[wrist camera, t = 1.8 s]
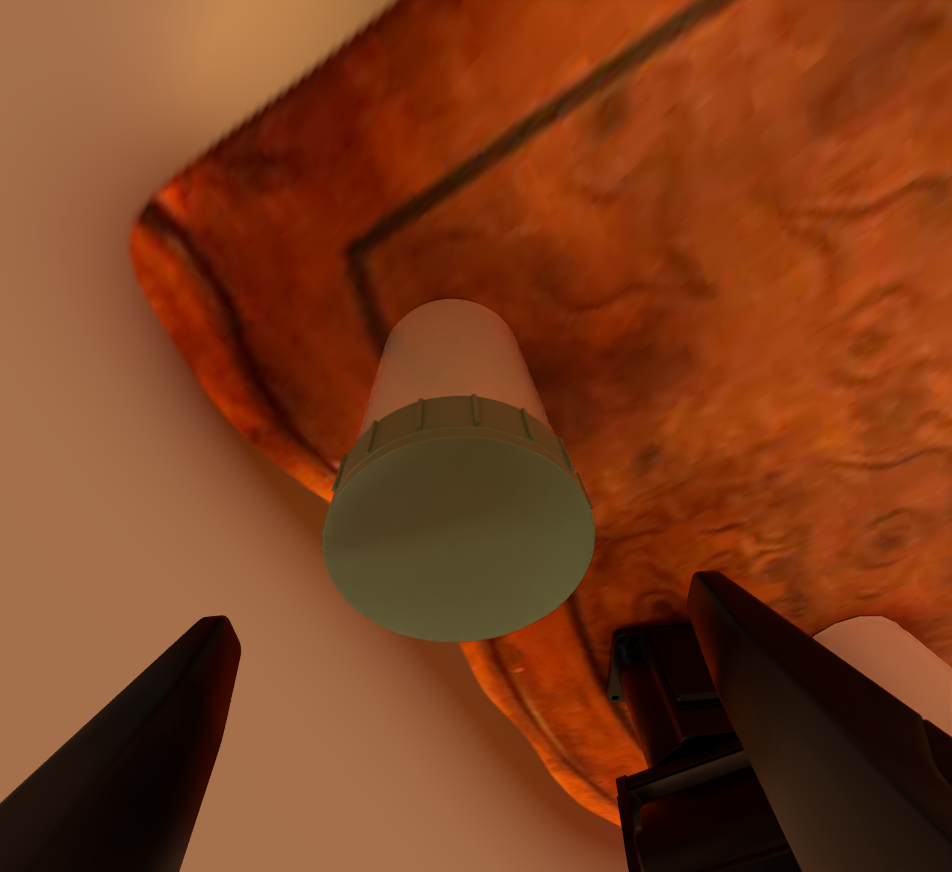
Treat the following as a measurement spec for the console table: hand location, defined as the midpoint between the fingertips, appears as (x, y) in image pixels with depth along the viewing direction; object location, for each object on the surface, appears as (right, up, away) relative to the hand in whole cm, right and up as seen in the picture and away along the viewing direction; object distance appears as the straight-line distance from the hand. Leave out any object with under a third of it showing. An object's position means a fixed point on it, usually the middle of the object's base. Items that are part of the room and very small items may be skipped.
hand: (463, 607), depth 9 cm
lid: (0, +1, +2) cm, 2 cm away
